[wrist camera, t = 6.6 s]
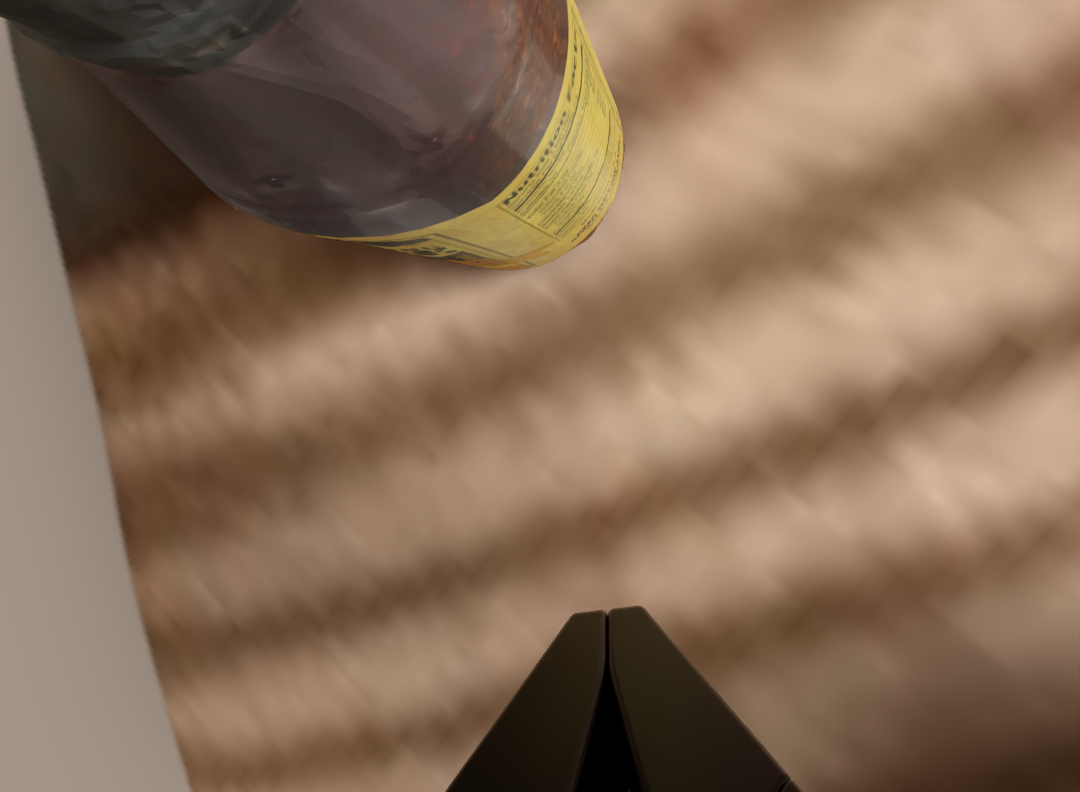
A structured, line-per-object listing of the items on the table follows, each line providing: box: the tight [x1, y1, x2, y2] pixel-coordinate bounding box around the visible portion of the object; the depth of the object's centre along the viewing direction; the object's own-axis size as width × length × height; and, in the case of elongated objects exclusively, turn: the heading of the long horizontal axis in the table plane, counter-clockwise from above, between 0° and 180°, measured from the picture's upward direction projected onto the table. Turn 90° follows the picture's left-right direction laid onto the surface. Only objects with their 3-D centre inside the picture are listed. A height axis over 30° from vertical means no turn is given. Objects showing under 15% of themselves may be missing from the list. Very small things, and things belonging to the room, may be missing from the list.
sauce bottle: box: [0, 0, 625, 270], centre depth 12 cm, size 6×6×20 cm
